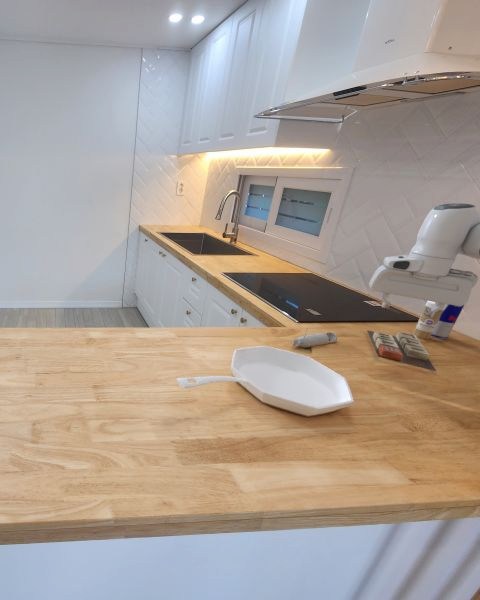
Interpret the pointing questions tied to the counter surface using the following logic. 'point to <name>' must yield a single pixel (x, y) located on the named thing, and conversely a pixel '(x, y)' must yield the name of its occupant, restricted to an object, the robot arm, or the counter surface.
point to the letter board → (404, 355)
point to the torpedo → (315, 339)
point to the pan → (284, 381)
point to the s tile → (390, 352)
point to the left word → (384, 340)
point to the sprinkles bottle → (427, 322)
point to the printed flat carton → (412, 346)
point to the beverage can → (446, 321)
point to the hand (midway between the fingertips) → (406, 311)
